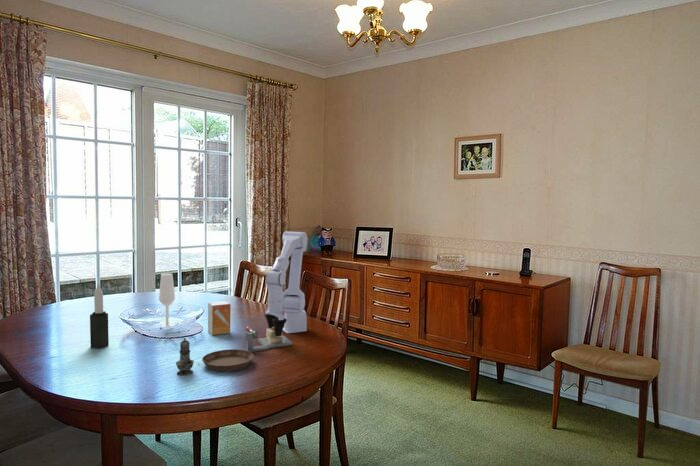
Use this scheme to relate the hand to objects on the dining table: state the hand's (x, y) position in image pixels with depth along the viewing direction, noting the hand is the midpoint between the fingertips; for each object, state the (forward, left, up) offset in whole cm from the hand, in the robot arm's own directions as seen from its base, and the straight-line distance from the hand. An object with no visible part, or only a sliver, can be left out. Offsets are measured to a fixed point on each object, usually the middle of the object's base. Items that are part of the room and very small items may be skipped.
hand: (275, 333), depth 195 cm
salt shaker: (+38, +18, -4) cm, 42 cm away
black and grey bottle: (+63, -24, -4) cm, 68 cm away
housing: (0, 0, -3) cm, 3 cm away
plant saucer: (+23, +16, -5) cm, 28 cm away
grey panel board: (+4, +1, -4) cm, 6 cm away
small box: (+17, -24, -4) cm, 30 cm away
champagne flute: (+36, -41, -4) cm, 55 cm away
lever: (+10, +1, +1) cm, 10 cm away
